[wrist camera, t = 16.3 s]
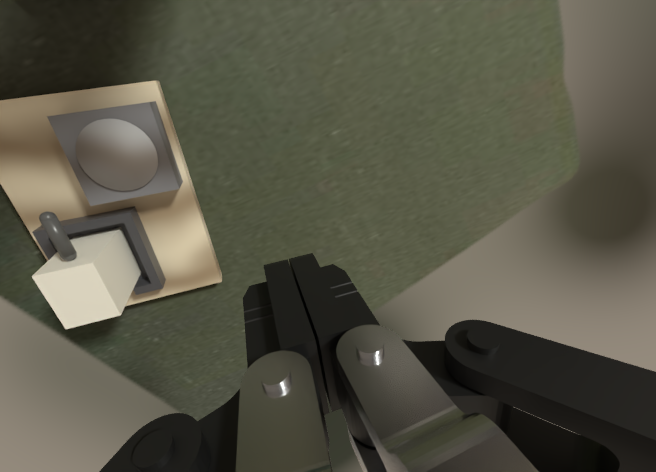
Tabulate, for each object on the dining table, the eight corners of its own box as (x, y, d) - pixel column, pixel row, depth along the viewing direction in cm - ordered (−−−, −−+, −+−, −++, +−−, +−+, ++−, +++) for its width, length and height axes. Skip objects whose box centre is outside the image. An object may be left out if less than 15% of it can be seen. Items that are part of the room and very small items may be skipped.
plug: (50, 195, 27) (-1, 225, 21) (102, 186, 28) (66, 213, 22) (100, 287, 31) (69, 335, 25) (143, 277, 32) (123, 321, 26)
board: (-32, 105, 25) (-78, 108, 21) (158, 80, 27) (148, 79, 24) (86, 308, 34) (69, 335, 30) (222, 274, 36) (221, 295, 33)
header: (42, 224, 28) (32, 232, 27) (135, 206, 30) (130, 212, 28) (85, 299, 32) (78, 309, 30) (165, 279, 33) (162, 288, 32)
